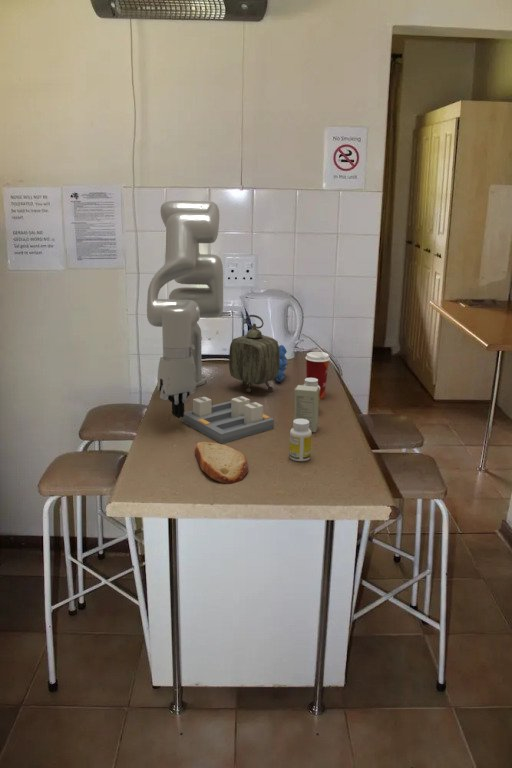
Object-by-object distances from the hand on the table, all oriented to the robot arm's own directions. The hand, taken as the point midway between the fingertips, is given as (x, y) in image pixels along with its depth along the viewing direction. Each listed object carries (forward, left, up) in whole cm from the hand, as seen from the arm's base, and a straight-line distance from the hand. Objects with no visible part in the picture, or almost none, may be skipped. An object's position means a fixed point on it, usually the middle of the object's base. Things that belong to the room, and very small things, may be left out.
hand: (178, 416), depth 183 cm
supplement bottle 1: (+34, +15, -4) cm, 37 cm away
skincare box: (+21, +29, -4) cm, 36 cm away
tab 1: (+6, +17, -2) cm, 18 cm away
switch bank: (+6, +13, -4) cm, 14 cm away
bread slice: (+25, -5, -4) cm, 26 cm away
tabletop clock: (-13, +37, -4) cm, 39 cm away
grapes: (-17, +51, -4) cm, 53 cm away
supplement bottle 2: (+12, +39, -4) cm, 41 cm away
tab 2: (+12, +17, -2) cm, 21 cm away
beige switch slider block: (0, +8, -2) cm, 8 cm away
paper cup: (+3, +50, -4) cm, 50 cm away
